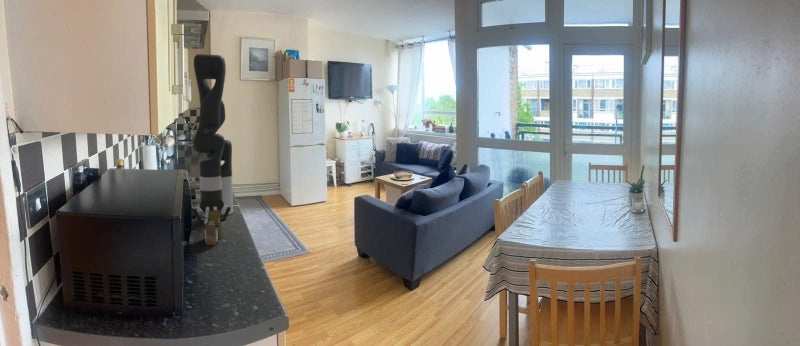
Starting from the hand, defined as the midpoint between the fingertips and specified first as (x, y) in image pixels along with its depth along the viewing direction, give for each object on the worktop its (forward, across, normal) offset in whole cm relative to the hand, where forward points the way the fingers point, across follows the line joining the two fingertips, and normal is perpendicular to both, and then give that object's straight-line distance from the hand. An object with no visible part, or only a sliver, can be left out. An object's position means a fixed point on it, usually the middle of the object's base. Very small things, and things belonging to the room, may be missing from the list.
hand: (212, 232), depth 172 cm
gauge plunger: (+2, 0, +6) cm, 6 cm away
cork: (+2, -1, 0) cm, 2 cm away
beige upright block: (+2, 0, +7) cm, 7 cm away
